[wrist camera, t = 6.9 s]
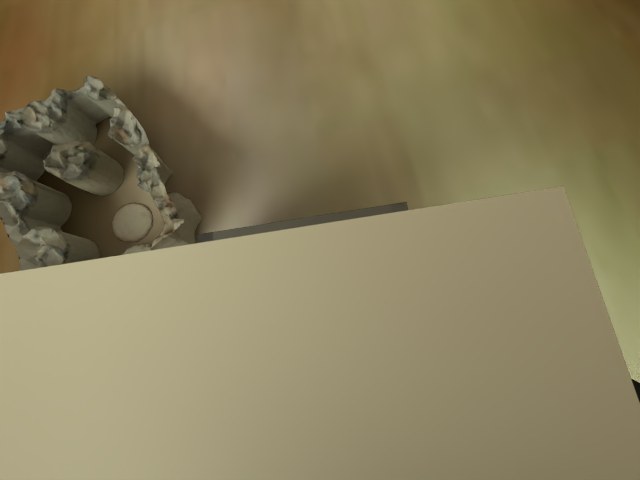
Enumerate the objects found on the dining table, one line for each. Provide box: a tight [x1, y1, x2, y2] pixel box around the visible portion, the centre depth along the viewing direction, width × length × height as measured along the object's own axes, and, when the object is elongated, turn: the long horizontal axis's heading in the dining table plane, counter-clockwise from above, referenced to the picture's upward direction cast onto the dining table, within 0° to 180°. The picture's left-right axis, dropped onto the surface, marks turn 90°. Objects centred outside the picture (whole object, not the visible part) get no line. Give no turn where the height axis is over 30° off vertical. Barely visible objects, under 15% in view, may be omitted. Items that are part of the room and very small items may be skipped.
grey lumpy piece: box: [0, 76, 201, 271], centre depth 15 cm, size 11×8×4 cm
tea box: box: [0, 186, 640, 480], centre depth 9 cm, size 4×6×12 cm, turn 99°
